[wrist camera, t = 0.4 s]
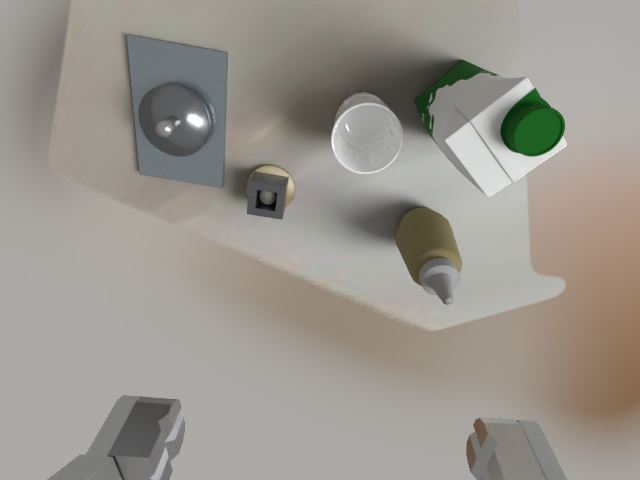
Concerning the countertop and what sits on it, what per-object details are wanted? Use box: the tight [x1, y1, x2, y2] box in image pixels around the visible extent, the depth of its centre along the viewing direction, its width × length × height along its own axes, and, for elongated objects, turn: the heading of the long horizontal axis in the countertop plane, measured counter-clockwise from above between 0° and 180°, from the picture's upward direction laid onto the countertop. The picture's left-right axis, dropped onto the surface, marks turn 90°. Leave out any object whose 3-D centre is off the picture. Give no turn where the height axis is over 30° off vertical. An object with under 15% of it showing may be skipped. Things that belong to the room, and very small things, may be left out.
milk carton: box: [415, 60, 567, 198], centre depth 40 cm, size 9×9×20 cm
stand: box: [246, 165, 295, 208], centre depth 54 cm, size 7×7×4 cm
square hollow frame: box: [247, 171, 289, 219], centre depth 53 cm, size 5×5×4 cm
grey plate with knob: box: [127, 35, 228, 188], centre depth 48 cm, size 18×12×6 cm, turn 171°
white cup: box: [331, 92, 403, 174], centre depth 46 cm, size 8×8×10 cm
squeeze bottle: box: [396, 207, 462, 304], centre depth 50 cm, size 8×8×18 cm
